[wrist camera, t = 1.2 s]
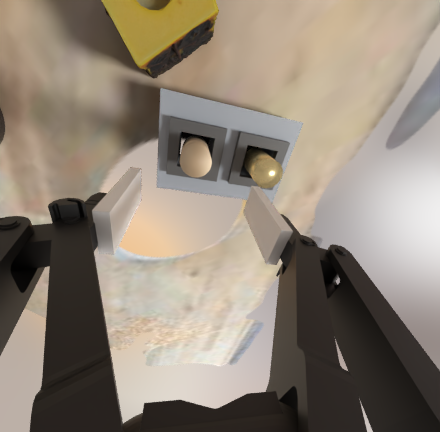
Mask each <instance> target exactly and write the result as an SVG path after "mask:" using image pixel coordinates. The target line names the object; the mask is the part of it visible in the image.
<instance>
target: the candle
mask: <svg viewBox="0 0 440 432" xmlns="http://www.w3.org/2000/svg"><path fill="white" fill-rule="evenodd" d="M101 1H102V2H103V4H104V6H105V10H106V13H107V14H108V15H109V16H110V18H111V19H112V20H113V22H114V24H115V26H116V28H117V29H118V31H119V33H120V35H121V37H122V39H123V41H124V43H125V45H126V47H127V48H128V50H129V52H130V54H131V56H132V57H133V59H134V61H135V63H136V64H137V66H138V67H139V68H140V69H142V68H143V69H146V72H148V74H149V75H150V76H152V77H153V78H157V77H158V75H160V74H163V73H164V72H166V71H167V70H170V69H171V68H172V67H173V66H174V65H176V64H178V63H179V62H181V61H182V60H183V59H184V58H187V57H188V55H190V54H192V52H193V51H195V50H196V49H197V48H199V47H200V46H201V45H204V44H207V42H208V41H210V40H211V37H213V32H214V25H215V20H216V16H217V15H218V12H219V10H218V7H217V4H216V0H101Z"/></svg>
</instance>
